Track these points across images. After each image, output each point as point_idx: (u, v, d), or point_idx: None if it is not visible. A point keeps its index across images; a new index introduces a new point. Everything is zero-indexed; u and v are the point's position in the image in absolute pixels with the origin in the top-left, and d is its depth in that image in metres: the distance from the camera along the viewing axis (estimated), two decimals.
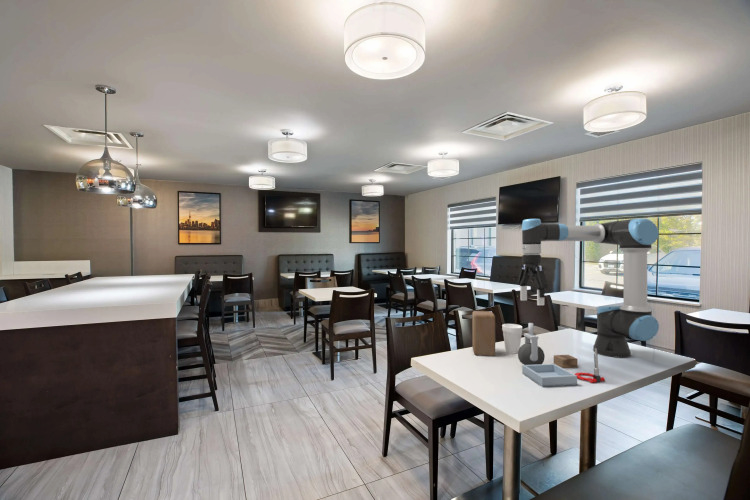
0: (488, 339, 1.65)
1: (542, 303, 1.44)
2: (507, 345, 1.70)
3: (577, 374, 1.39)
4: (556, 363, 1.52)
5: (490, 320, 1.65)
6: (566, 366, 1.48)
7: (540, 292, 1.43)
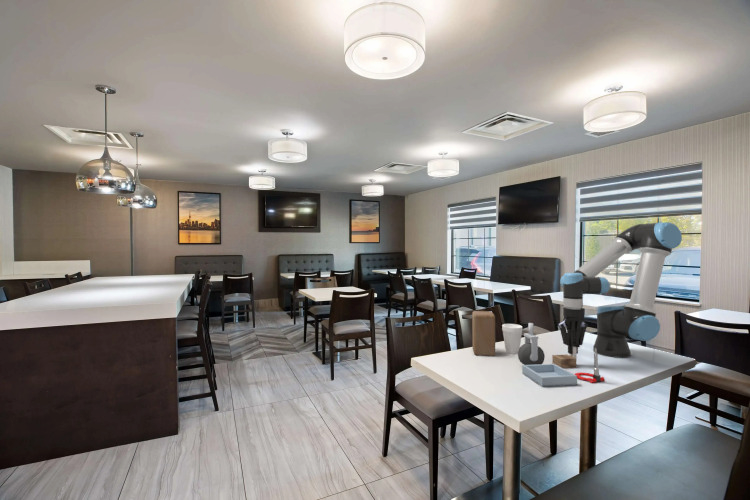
0: (488, 339, 1.65)
1: None
2: (507, 345, 1.70)
3: (577, 374, 1.39)
4: (555, 363, 1.52)
5: (490, 320, 1.65)
6: (565, 366, 1.48)
7: None
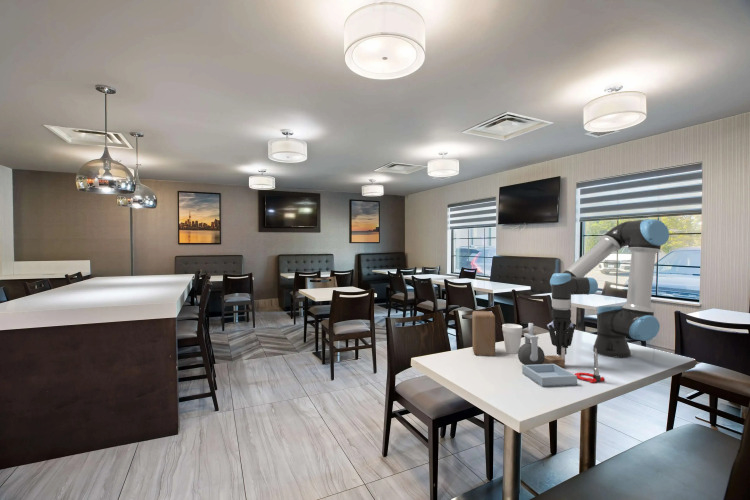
0: (488, 339, 1.65)
1: None
2: (507, 345, 1.70)
3: (577, 374, 1.39)
4: None
5: (490, 320, 1.65)
6: None
7: None
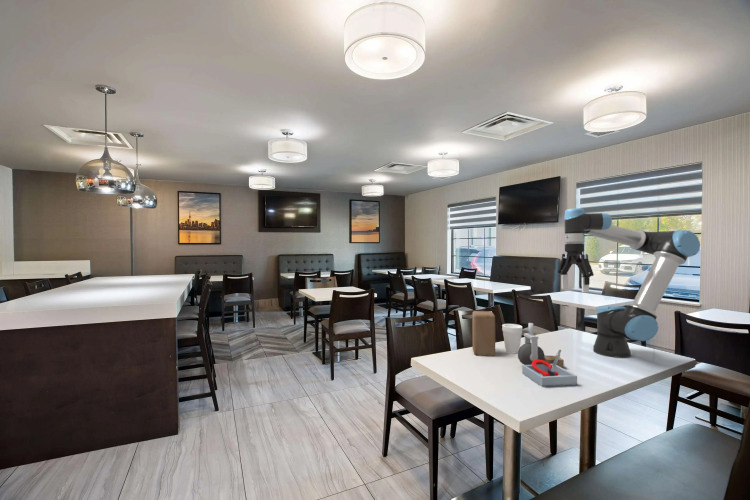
0: (488, 339, 1.65)
1: (587, 290, 1.47)
2: (507, 345, 1.70)
3: (534, 362, 1.41)
4: None
5: (490, 320, 1.65)
6: None
7: (585, 279, 1.46)
